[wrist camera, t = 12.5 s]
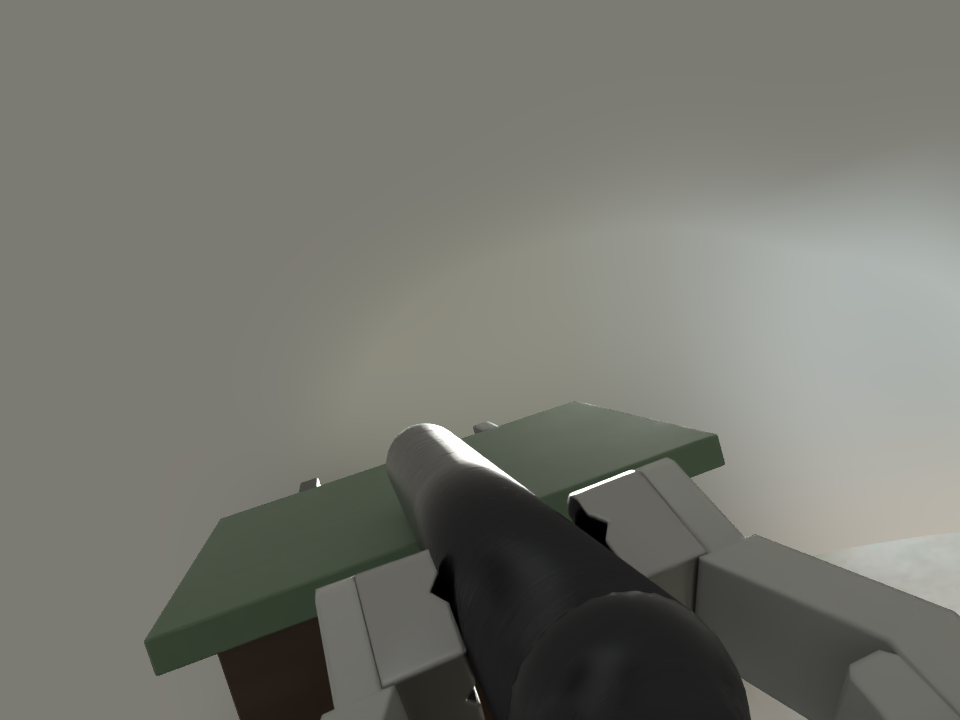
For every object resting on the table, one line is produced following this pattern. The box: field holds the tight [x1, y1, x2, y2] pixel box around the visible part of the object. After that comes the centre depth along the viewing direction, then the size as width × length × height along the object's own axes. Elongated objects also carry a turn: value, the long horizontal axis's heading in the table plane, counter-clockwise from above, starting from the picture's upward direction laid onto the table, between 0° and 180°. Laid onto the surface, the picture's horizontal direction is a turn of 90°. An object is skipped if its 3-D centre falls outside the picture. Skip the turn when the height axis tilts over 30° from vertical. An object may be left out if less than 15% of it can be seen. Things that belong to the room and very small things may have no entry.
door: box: [144, 401, 751, 720], centre depth 14 cm, size 20×13×3 cm, turn 13°
